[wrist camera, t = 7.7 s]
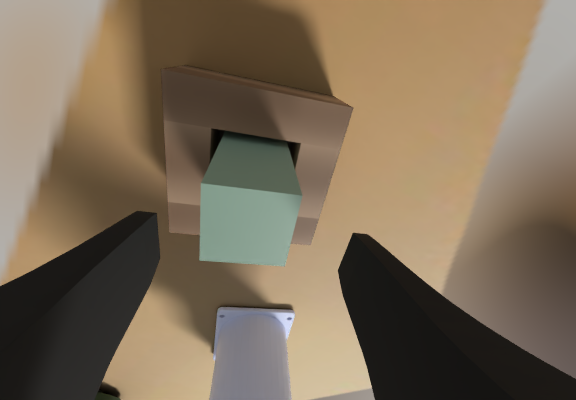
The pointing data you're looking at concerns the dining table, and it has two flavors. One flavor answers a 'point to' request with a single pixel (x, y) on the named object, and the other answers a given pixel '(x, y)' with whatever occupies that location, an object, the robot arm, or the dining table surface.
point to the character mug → (105, 396)
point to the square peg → (249, 201)
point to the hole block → (248, 120)
